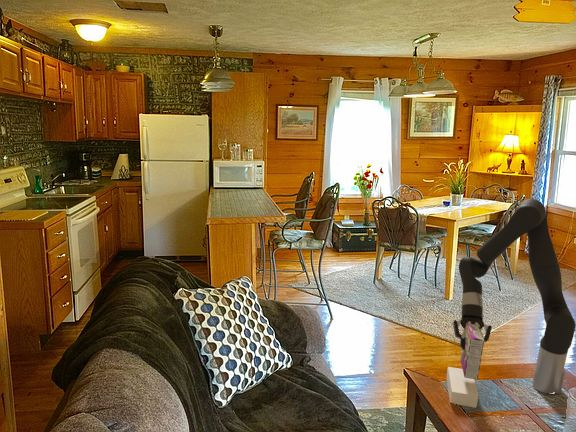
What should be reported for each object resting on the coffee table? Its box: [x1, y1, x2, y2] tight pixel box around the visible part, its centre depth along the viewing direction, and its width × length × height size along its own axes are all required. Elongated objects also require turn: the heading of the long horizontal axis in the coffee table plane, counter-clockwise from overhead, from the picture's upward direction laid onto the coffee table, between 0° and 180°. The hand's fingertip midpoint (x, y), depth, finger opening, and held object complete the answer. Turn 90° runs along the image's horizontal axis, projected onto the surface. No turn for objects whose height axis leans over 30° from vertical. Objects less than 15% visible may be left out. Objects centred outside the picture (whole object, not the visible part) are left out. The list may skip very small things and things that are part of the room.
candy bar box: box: [460, 323, 485, 380], centre depth 172 cm, size 11×5×16 cm, turn 168°
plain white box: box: [445, 366, 479, 409], centre depth 177 cm, size 9×16×5 cm, turn 167°
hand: (471, 350), depth 172 cm, fingers closed on candy bar box, 5 cm apart
